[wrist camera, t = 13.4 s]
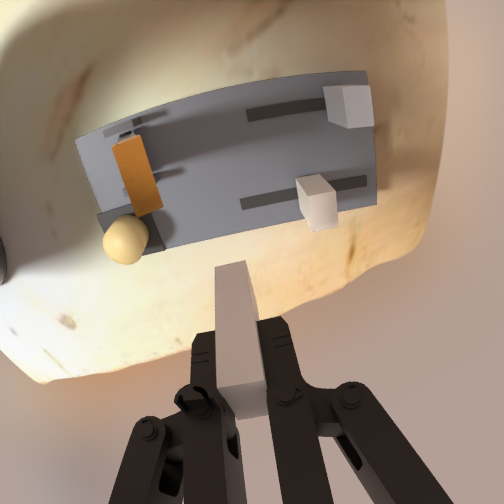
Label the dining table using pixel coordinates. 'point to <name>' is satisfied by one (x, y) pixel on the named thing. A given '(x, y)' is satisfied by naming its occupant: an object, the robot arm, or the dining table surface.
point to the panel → (235, 158)
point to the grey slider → (349, 105)
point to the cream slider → (317, 202)
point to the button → (126, 239)
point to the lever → (136, 173)
